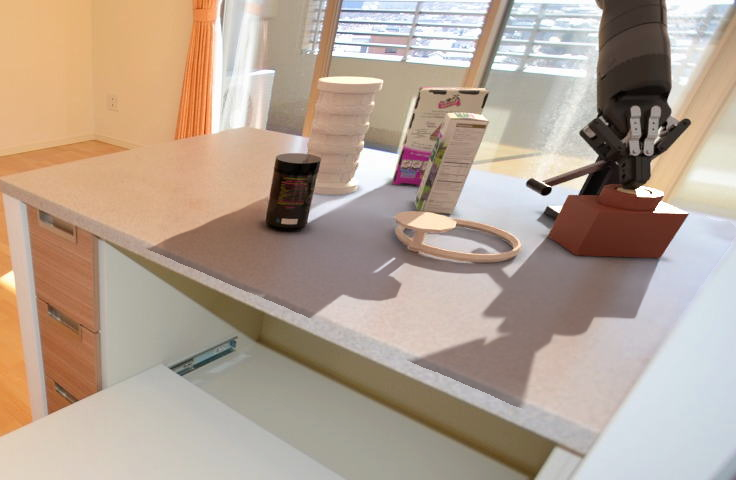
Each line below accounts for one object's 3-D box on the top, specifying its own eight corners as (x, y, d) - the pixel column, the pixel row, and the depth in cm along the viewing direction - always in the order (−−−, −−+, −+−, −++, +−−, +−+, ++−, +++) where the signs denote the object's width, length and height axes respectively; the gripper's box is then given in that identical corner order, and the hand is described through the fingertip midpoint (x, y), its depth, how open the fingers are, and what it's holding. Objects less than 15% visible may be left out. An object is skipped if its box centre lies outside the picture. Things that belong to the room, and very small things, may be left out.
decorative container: (369, 190, 105) (400, 81, 93) (322, 197, 101) (348, 85, 90) (328, 176, 113) (352, 74, 102) (283, 182, 110) (302, 78, 99)
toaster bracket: (575, 232, 85) (619, 150, 77) (543, 212, 92) (580, 136, 85) (638, 234, 84) (689, 151, 76) (601, 214, 91) (644, 137, 84)
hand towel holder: (563, 223, 76) (453, 243, 70) (547, 253, 78) (440, 275, 73) (460, 191, 88) (360, 206, 83) (450, 218, 91) (352, 235, 85)
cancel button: (632, 200, 77) (639, 187, 76) (648, 207, 74) (656, 194, 73) (604, 199, 78) (611, 186, 77) (619, 207, 75) (627, 194, 74)
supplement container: (300, 219, 92) (314, 152, 85) (311, 233, 86) (327, 163, 80) (260, 219, 92) (271, 153, 86) (268, 233, 87) (281, 163, 80)
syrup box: (413, 202, 98) (443, 111, 89) (449, 205, 97) (484, 113, 88) (416, 211, 94) (448, 117, 85) (454, 214, 92) (491, 119, 83)
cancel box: (625, 238, 82) (658, 183, 77) (660, 258, 76) (698, 199, 71) (547, 236, 84) (574, 181, 79) (575, 255, 77) (607, 197, 73)
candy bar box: (452, 183, 107) (488, 87, 97) (454, 190, 104) (491, 91, 93) (390, 178, 111) (419, 85, 101) (390, 185, 107) (420, 88, 97)
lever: (540, 200, 85) (541, 185, 83) (525, 191, 89) (525, 177, 87) (646, 164, 80) (648, 148, 79) (625, 156, 84) (627, 141, 83)
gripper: (659, 91, 80) (662, 202, 78) (562, 91, 81) (562, 199, 79) (711, 50, 72) (716, 171, 70) (603, 51, 74) (604, 169, 72)
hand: (634, 186), depth 75 cm, fingers closed
